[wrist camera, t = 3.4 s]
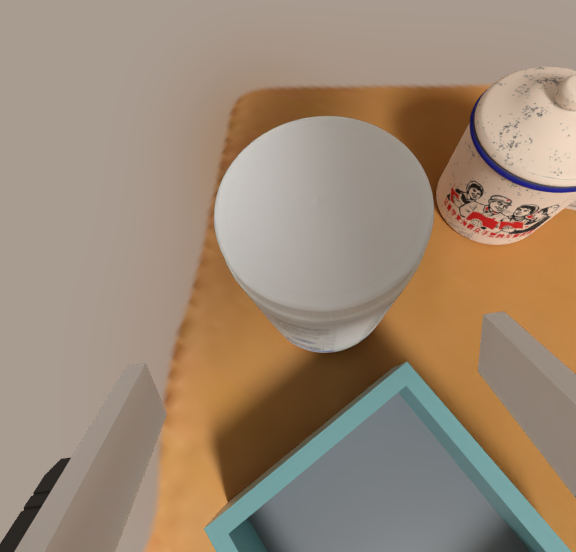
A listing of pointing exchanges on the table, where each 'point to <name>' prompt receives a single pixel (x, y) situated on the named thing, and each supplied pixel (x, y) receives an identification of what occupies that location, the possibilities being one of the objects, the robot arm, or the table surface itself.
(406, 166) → the supplement tub
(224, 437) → the table surface
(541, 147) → the teacup with lid
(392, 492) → the open square box
